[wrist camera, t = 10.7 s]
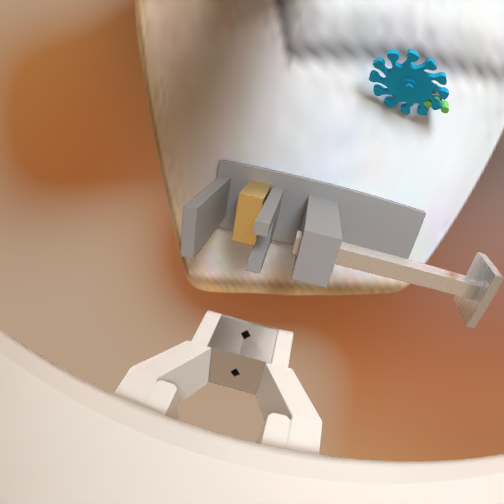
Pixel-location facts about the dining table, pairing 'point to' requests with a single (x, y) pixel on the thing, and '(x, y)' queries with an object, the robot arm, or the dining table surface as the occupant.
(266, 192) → the spacer
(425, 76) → the gear
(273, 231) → the bearing base
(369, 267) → the shaft
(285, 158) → the dining table surface
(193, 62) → the dining table surface
